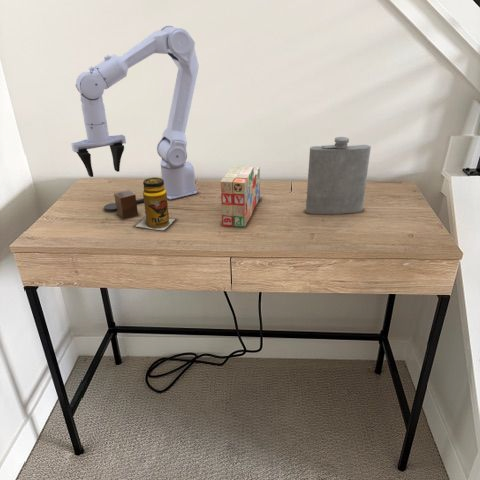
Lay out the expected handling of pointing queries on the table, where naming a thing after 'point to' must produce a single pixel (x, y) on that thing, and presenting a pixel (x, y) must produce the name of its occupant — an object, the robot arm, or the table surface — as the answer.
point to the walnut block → (126, 204)
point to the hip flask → (337, 178)
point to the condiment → (155, 205)
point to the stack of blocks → (239, 195)
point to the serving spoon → (112, 206)
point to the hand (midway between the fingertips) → (104, 173)
